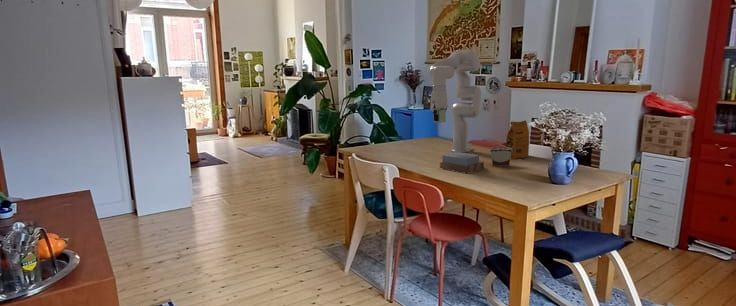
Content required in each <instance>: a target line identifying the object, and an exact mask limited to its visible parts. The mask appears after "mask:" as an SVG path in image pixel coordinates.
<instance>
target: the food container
mask: <svg viewBox="0 0 736 306" xmlns="http://www.w3.org/2000/svg"><path fill="white" fill-rule="evenodd" d="M511 152H513V151H512V148H509V147H506V146H492V147H491V148H490V151H489V153H490V154H491V155H490V156H491V166H492V167H510V165H511V159H512V158H511Z"/></svg>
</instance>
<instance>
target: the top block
mask: <svg viewBox="0 0 736 306" xmlns="http://www.w3.org/2000/svg"><path fill="white" fill-rule="evenodd" d="M479 161H480V154H473V153H468V152H465V153H460V152H450V153H446V154H443V155H442V162H444V163H449V164H456V165H462V166H469V165H472V164H475V163H479Z"/></svg>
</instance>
